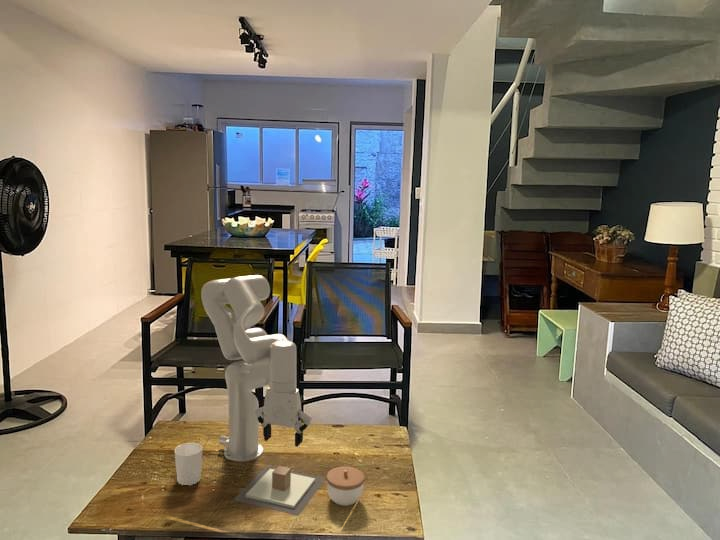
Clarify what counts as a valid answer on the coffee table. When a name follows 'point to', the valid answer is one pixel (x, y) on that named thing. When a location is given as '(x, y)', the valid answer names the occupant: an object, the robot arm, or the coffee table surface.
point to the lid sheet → (281, 495)
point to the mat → (295, 511)
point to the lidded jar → (345, 485)
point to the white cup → (188, 463)
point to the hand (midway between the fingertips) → (282, 441)
